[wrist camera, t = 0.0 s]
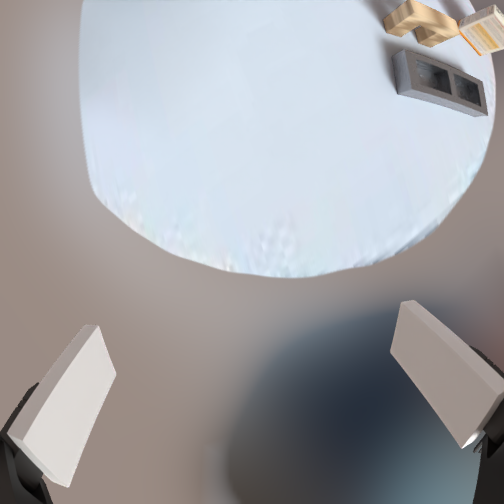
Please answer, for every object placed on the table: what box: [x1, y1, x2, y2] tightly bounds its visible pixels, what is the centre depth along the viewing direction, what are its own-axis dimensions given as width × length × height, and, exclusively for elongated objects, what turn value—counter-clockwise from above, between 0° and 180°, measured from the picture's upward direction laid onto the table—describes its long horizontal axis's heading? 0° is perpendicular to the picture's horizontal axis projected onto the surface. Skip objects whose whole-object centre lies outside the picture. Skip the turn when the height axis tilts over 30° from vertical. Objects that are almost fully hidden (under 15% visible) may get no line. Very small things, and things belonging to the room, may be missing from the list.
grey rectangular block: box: [392, 49, 488, 117], centre depth 31 cm, size 20×7×4 cm, turn 93°
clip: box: [383, 0, 460, 48], centre depth 25 cm, size 10×3×9 cm, turn 93°
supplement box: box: [458, 5, 504, 56], centre depth 22 cm, size 8×5×13 cm, turn 60°
